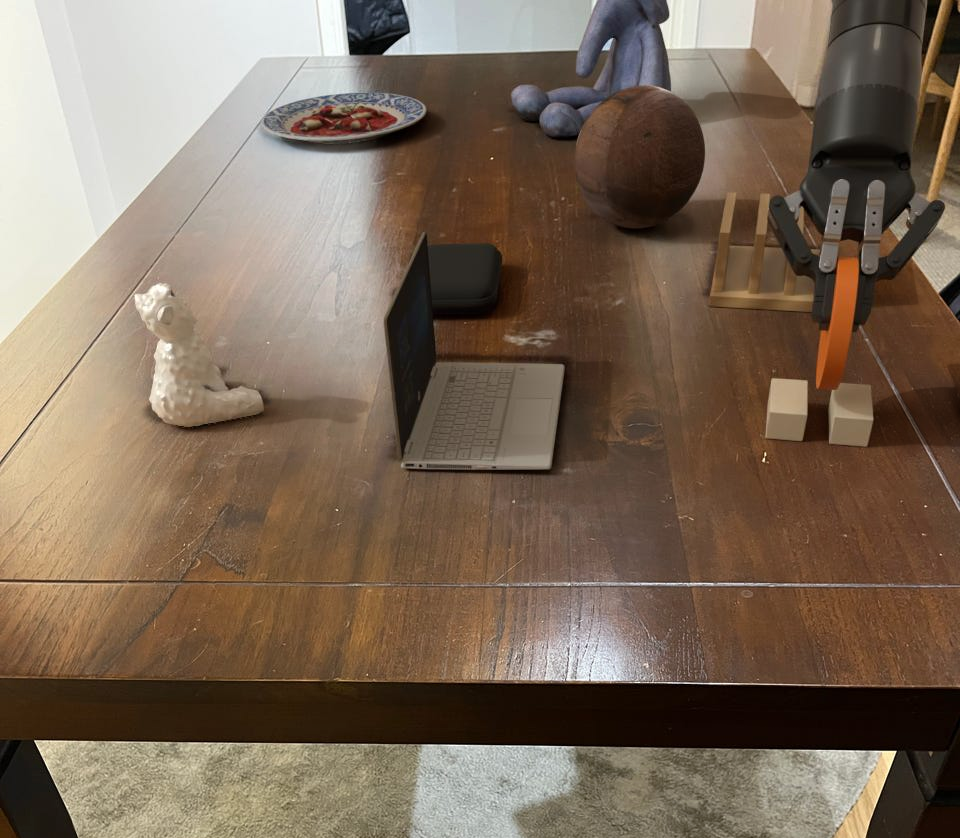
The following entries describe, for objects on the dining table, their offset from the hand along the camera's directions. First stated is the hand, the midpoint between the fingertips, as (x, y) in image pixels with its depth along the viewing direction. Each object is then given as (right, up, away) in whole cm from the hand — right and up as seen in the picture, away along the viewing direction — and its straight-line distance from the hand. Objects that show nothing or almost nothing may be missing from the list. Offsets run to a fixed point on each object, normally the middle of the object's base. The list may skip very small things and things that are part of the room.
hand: (839, 327), depth 77 cm
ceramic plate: (-49, +57, +82) cm, 111 cm away
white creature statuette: (-53, -4, +14) cm, 55 cm away
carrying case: (-31, +14, +32) cm, 47 cm away
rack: (+3, +14, +30) cm, 33 cm away
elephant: (-9, +58, +81) cm, 100 cm away
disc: (+1, -3, +5) cm, 6 cm away
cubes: (+1, -6, +8) cm, 10 cm away
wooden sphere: (-9, +26, +45) cm, 53 cm away
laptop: (-27, -5, +11) cm, 30 cm away
